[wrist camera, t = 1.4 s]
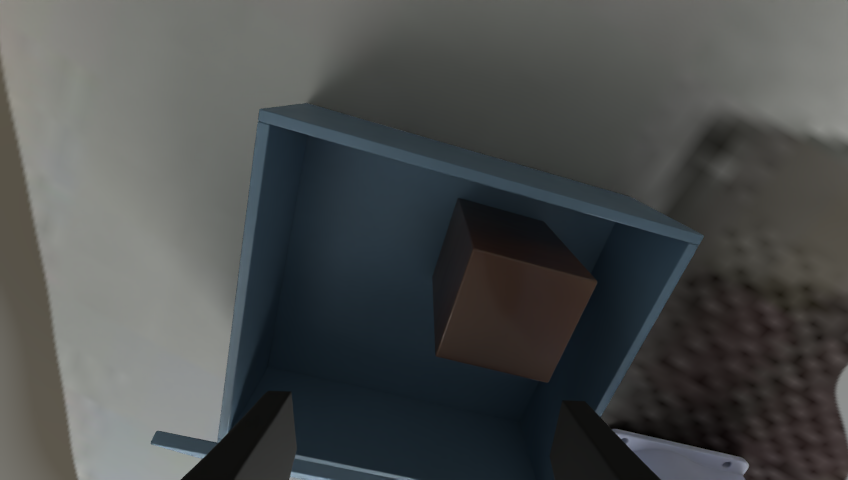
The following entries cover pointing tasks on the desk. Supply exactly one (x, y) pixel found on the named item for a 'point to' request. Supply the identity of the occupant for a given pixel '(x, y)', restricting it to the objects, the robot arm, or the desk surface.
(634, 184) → the desk surface
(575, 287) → the walnut block
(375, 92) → the desk surface
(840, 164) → the desk surface
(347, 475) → the flap
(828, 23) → the desk surface
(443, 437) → the carton
